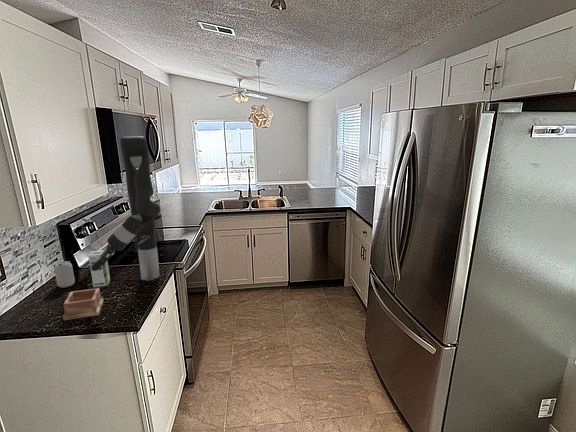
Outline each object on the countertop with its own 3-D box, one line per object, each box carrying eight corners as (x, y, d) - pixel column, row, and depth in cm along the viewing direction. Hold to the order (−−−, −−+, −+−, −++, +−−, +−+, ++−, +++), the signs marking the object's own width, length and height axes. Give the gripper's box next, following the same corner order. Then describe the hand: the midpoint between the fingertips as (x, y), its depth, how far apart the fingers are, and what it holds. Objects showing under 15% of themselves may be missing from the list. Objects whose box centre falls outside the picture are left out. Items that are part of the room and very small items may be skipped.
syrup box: (93, 287, 141) (87, 255, 137) (96, 281, 147) (91, 250, 143) (108, 285, 143) (103, 254, 139) (110, 279, 148) (106, 249, 144)
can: (56, 284, 171) (52, 262, 167) (73, 280, 175) (70, 259, 172) (58, 289, 165) (54, 267, 162) (76, 285, 170) (72, 263, 167)
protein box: (140, 219, 289) (138, 202, 285) (151, 215, 303) (149, 198, 299) (151, 220, 287) (149, 202, 282) (161, 215, 301) (160, 198, 297)
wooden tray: (71, 305, 151) (69, 291, 149) (103, 300, 155) (101, 286, 154) (63, 320, 139) (60, 305, 138) (98, 315, 144) (96, 300, 142)
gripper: (116, 226, 148) (89, 255, 147) (112, 237, 135) (82, 268, 134) (130, 237, 151) (104, 264, 150) (128, 247, 138) (99, 278, 137)
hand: (94, 266), depth 142 cm, fingers closed on syrup box, 6 cm apart
